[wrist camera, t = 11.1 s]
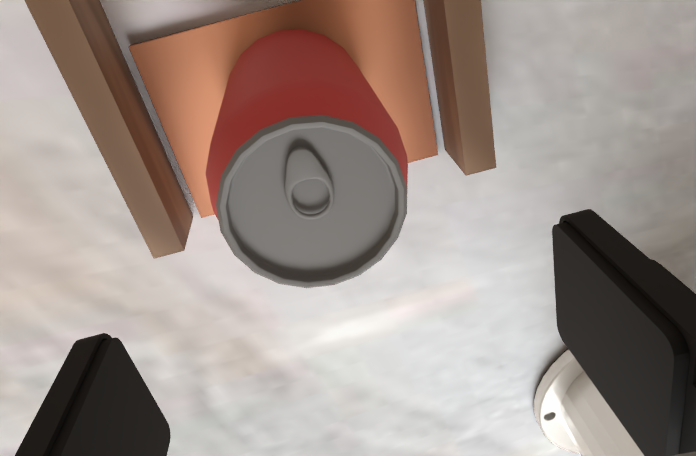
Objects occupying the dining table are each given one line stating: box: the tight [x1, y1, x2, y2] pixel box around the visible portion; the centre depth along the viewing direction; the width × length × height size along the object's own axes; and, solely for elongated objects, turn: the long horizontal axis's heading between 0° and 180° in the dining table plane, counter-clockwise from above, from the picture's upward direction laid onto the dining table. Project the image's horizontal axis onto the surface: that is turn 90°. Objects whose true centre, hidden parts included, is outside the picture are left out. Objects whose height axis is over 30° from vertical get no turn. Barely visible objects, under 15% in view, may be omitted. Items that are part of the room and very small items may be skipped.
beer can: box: [205, 29, 408, 288], centre depth 21 cm, size 7×7×12 cm
